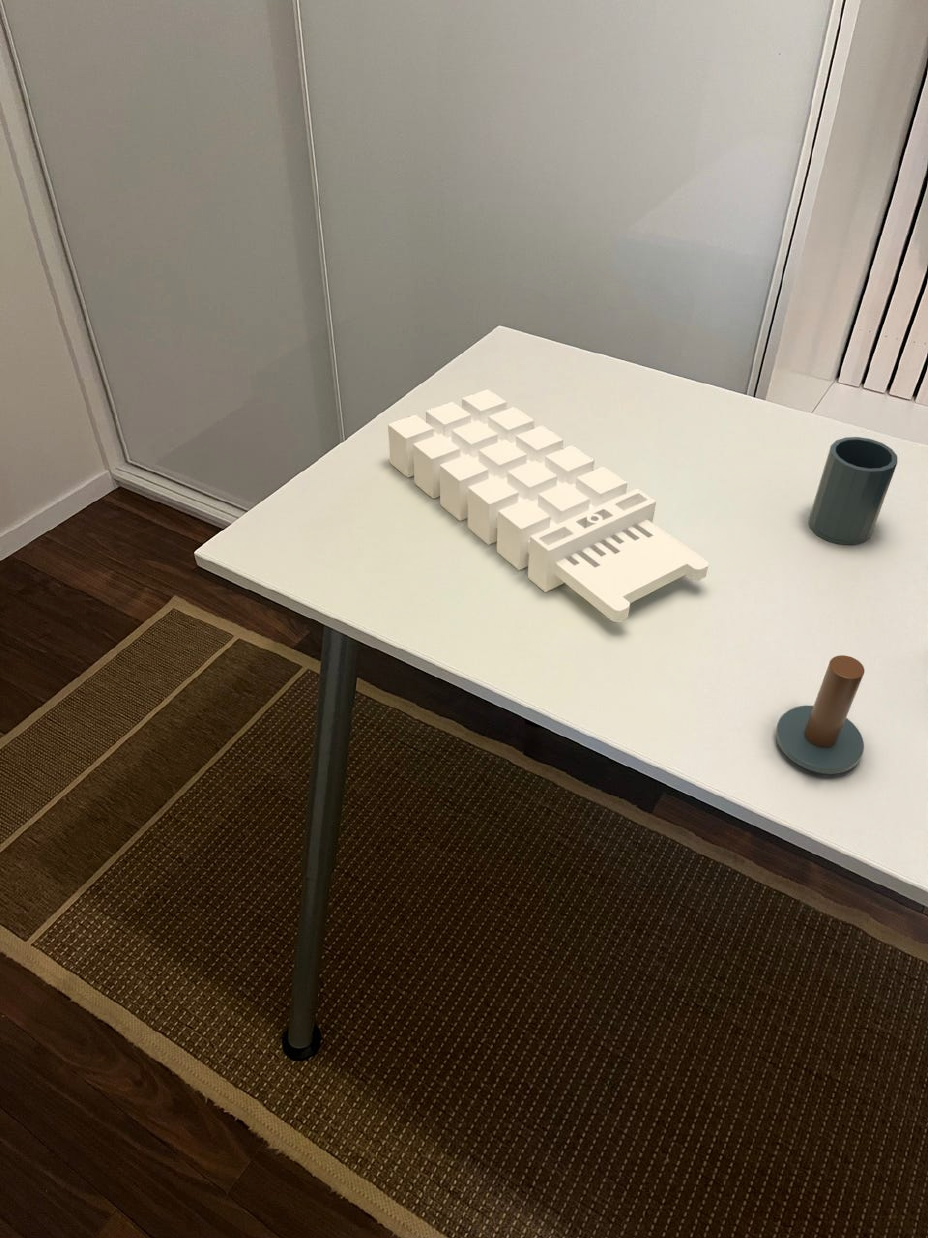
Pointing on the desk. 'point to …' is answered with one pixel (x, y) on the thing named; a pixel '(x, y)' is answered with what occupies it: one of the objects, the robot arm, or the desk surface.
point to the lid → (825, 723)
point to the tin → (852, 490)
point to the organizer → (541, 502)
